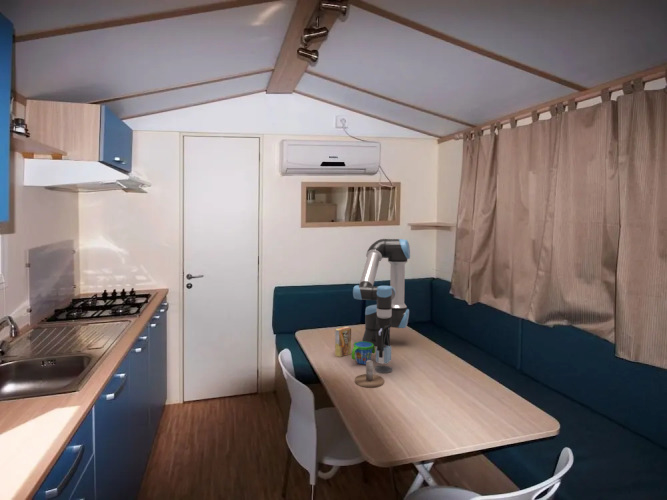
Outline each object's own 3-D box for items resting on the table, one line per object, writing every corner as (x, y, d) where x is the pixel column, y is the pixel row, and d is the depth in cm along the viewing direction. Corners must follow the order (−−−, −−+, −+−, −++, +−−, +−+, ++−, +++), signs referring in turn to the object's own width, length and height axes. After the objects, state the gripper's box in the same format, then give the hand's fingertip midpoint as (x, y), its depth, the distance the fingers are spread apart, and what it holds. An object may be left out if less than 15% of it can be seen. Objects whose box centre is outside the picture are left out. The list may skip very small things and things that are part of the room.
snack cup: (368, 356, 223) (368, 339, 223) (380, 362, 215) (381, 344, 214) (345, 362, 215) (345, 344, 214) (357, 368, 206) (357, 349, 205)
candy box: (346, 351, 231) (346, 326, 230) (351, 353, 228) (351, 327, 227) (334, 355, 226) (334, 328, 224) (339, 357, 222) (339, 330, 221)
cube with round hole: (379, 357, 208) (380, 342, 207) (391, 359, 205) (391, 344, 204) (375, 361, 202) (375, 345, 202) (387, 363, 200) (387, 347, 199)
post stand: (348, 379, 192) (349, 360, 191) (371, 373, 200) (371, 354, 199) (367, 390, 180) (367, 369, 180) (390, 383, 188) (390, 362, 187)
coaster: (371, 369, 206) (371, 367, 205) (384, 365, 211) (384, 364, 210) (382, 374, 198) (382, 373, 198) (396, 370, 203) (396, 369, 203)
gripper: (383, 311, 212) (382, 354, 214) (370, 320, 195) (369, 365, 197) (396, 313, 209) (396, 356, 211) (385, 321, 192) (384, 368, 193)
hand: (383, 360), depth 204 cm, fingers closed on cube with round hole, 6 cm apart
